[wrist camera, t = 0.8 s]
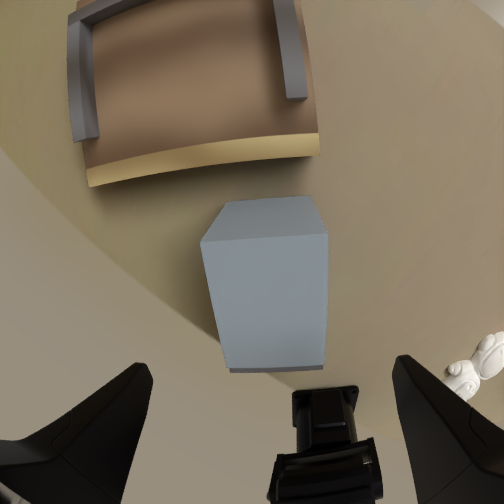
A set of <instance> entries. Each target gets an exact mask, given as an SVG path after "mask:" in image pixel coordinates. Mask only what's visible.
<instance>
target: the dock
mask: <svg viewBox="0 0 504 504" xmlns="http://www.w3.org/2000/svg"><path fill="white" fill-rule="evenodd" d="M67 78H68V96H69V108H70V118H71V127H72V135H73V142H74V143H75V142H81V141H82V145H83V151H84V158H85V163H86V174H87V179H88V184H89V187H93V186H98V185H102V184H106V183H111V182H115V181H120V180H125V179H130V178H135V177H140V176H145V175H151V174H156V173H162V172H168V171H174V170H180V169H187V168H193V167H200V166H208V165H215V164H223V163H232V162H241V161H251V160H261V159H273V158H286V157H301V156H320V146H319V134H318V126H317V115H316V105H315V96H314V88H313V80H312V72H311V65H310V58H309V51H308V44H307V38H306V32H305V26H304V20H303V15H302V9H301V4H300V0H80V1H78V2H77V7H76V11H75V12H73V13H71V14H70V15H68V28H67Z"/></svg>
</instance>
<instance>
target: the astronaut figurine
mask: <svg viewBox="0 0 504 504" xmlns="http://www.w3.org/2000/svg"><path fill="white" fill-rule="evenodd" d="M503 367H504V332H498V333H496V334H494V335H492V334H489V335H488V336H486V337H485V338H484V339H483V340H482V341H481V342H480V344H479V346H478V350H477V351H476V352H475V354H474V355H473V357H472V358H471V360H463V361H458V362H455V363H453V364H451V365H449V366H448V371H449V373H451V375H449V376H448V377H447V378H446V379H444V380H443V381H442V382H443V383H444V384H445V385H446V386H448V387H449V388H450V389H451V390H452V391H454V392H455V393H456V394H457V395H458V396H460V397H461V398H462V399H463V400H464V401H466V400H468V399H469V398H471V397H472V396H473V395H474V394H475V393H476V391H477V390H478V389H479V386H480V379H483V380H486V379H489V378H491V377H493V376H495V375H496V374H497V373H498V372H499V371H500V370H501V369H502V368H503Z"/></svg>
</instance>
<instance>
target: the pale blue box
mask: <svg viewBox="0 0 504 504" xmlns="http://www.w3.org/2000/svg"><path fill="white" fill-rule="evenodd" d="M200 247H201V252H202V257H203V262H204V267H205V272H206V277H207V282H208V287H209V292H210V297H211V301H212V306H213V311H214V315H215V320H216V324H217V329H218V333H219V337H220V342H221V346H222V350H223V354H224V359H225V363H226V366H227V368H229V369H230V372H231V373H259V372H260V373H261V372H291V371H308V370H321V369H323V365H324V362H325V347H326V329H327V306H328V232H327V230H326V227H325V225H324V223H323V221H322V219H321V217H320V214H319V212H318V210H317V208H316V206H315V204H314V202H313V200H312V197H311V195H309V196H291V197H279V198H266V199H254V200H241V201H231V202H227V203H226V204H225V206H224V207H223V208H222V210H221V211H220V213H219V214H218V216H217V217H216V219H215V220H214V222H213V223H212V225H211V226H210V228H209V229H208V231H207V232H206V234H205V235H204V237H203V238H202V240H201V241H200Z"/></svg>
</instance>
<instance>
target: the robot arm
mask: <svg viewBox="0 0 504 504" xmlns="http://www.w3.org/2000/svg"><path fill="white" fill-rule="evenodd" d="M392 380H393V385H394V391H395V397H396V404H397V410H398V415H399V419H400V423H401V427H402V431H403V435H404V439H405V442H406V447H407V450H408V455H409V460H410V464H411V469H412V474H413V478H414V484H415V489H416V494H417V500H418V504H504V430H502V429H501V428H499V427H497V426H496V425H495V424H493V423H492V422H491V421H489V420H488V419H486V418H485V417H484V416H483V415H481V414H480V413H479V412H478V411H476V410H475V409H474V408H473V407H471V406H470V405H469V404H468V403H467V402H466V401H464V400H463V399H462V398H461V397H460V396H458V395H457V394H456V393H455V392H454V391H452V390H451V389H450V388H449V387H448V386H446V385H445V384H444V383H443V382H441V381H440V380H439V379H438V378H437V377H435V376H434V375H433V374H432V373H431V372H429V371H428V370H427V369H426V368H424V367H423V366H422V365H421V364H419V363H418V362H417V361H416V360H415V359H413V358H412V357H411V356H410V355H407V354H406V355H400V356H398V357H397V358H396V361H395V364H394V368H393V371H392ZM152 386H153V378H152V375H151V373H150V371H149V369H148V367H147V365H146V364H145V363H138V362H137V363H134V364H132V365H131V366H130V367H128V368H127V369H126V370H124V371H123V372H122V373H120V374H119V375H118V376H116V377H115V378H114V379H112V380H111V381H110V382H108V383H107V384H106V385H104V386H103V387H101V388H100V389H99V390H97V391H96V392H95V393H93V394H92V395H91V396H89V397H88V398H87V399H85V400H84V401H82V402H81V403H80V404H78V405H77V406H75V407H74V408H73V409H71V410H70V411H69V412H67V413H66V414H64V415H63V416H61V417H60V418H58V419H57V420H55V421H54V422H52V423H51V424H49V425H47V426H46V427H44V428H42V429H40V430H39V431H37V432H35V433H33V434H31V435H30V436H28V437H26V438H24V439H21V440H16V441H9V440H0V504H121V503H120V502H121V500H122V496H123V492H124V489H125V485H126V481H127V478H128V475H129V471H130V468H131V464H132V461H133V457H134V454H135V451H136V448H137V444H138V441H139V438H140V435H141V431H142V428H143V425H144V422H145V419H146V415H147V411H148V405H149V400H150V395H151V391H152ZM358 394H359V388H358V386H348V387H339V388H329V389H317V390H303V391H295V392H293V393H292V415H293V416H292V418H293V427H296V428H297V453H292V454H277V459H276V461H275V463H274V469H273V473H272V478H271V483H270V487H269V491H268V493H267V500H269V501H270V503H271V504H375V500H378V499H382V498H383V484H382V476H381V470H380V465H379V460H378V456H377V452H376V447H375V443H374V439H373V437H371V438H367V440H363V441H359V442H358V439H357V433H356V427H355V421H354V415H353V413H354V409H355V406H356V402H357V398H358ZM366 462H369V463H367V464H363V463H366Z"/></svg>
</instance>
